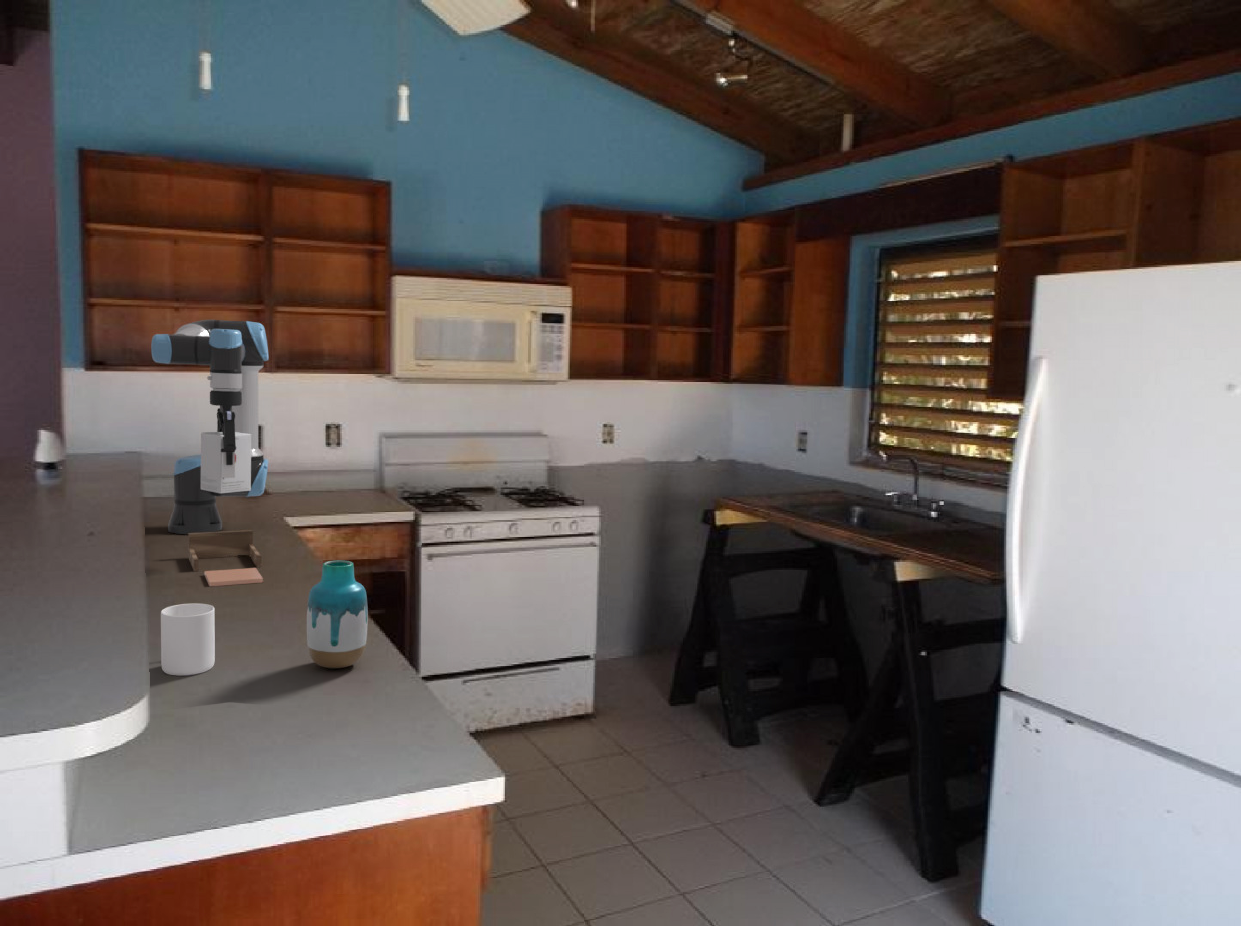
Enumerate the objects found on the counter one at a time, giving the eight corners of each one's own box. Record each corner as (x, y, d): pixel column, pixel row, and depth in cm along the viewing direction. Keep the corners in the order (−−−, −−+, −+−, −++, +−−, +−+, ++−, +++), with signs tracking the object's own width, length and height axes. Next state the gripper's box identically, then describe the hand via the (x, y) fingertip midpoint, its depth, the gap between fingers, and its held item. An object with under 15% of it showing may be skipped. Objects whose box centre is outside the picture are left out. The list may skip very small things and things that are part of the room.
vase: (375, 658, 172) (377, 559, 170) (353, 677, 161) (355, 571, 159) (321, 654, 173) (322, 555, 171) (296, 673, 162) (296, 567, 160)
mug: (211, 652, 171) (211, 596, 170) (216, 673, 160) (216, 613, 159) (160, 657, 167) (159, 600, 166) (162, 679, 156) (161, 618, 155)
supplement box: (220, 494, 230) (219, 435, 228) (199, 490, 235) (199, 432, 233) (252, 490, 237) (252, 433, 236) (231, 486, 242) (231, 430, 241)
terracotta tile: (204, 575, 228) (204, 571, 227) (255, 571, 234) (255, 567, 233) (209, 586, 217) (209, 582, 217) (263, 582, 223) (262, 578, 223)
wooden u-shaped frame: (188, 557, 245) (188, 533, 244) (252, 554, 253) (252, 530, 252) (193, 571, 231) (193, 544, 230) (261, 566, 239) (261, 541, 238)
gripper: (205, 387, 241) (205, 469, 244) (214, 392, 221) (215, 481, 223) (235, 388, 245) (235, 468, 248) (248, 392, 225) (248, 480, 227)
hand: (226, 474), depth 236 cm, fingers closed on supplement box, 11 cm apart
